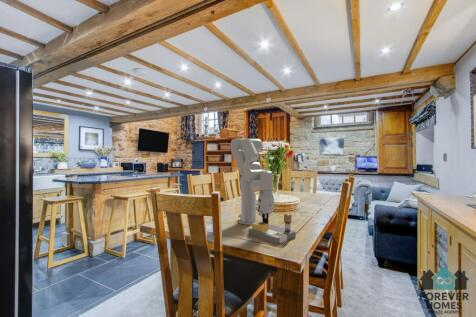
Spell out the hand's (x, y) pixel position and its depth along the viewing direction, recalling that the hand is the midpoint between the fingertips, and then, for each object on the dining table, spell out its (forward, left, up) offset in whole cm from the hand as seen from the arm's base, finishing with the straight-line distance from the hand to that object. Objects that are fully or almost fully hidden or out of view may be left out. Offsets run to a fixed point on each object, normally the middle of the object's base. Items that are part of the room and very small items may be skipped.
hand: (265, 224), depth 131 cm
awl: (+13, +3, -2) cm, 14 cm away
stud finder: (+1, -5, -2) cm, 5 cm away
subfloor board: (+6, -2, -5) cm, 8 cm away
